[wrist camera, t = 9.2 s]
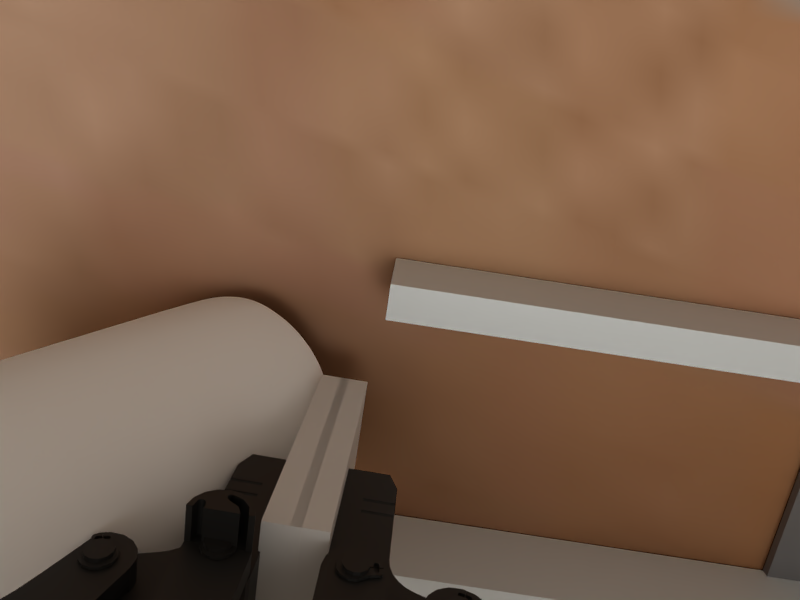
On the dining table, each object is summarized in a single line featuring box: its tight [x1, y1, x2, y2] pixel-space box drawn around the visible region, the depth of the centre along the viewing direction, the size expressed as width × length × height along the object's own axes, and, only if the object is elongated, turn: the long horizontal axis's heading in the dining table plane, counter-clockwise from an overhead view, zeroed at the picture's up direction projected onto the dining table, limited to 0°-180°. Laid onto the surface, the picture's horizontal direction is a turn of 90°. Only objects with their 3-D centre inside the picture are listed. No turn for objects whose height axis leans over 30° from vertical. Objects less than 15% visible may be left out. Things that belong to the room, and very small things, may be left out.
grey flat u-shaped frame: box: [385, 258, 800, 600], centre depth 20 cm, size 20×10×3 cm, turn 82°
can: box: [0, 297, 323, 599], centre depth 15 cm, size 6×6×12 cm
